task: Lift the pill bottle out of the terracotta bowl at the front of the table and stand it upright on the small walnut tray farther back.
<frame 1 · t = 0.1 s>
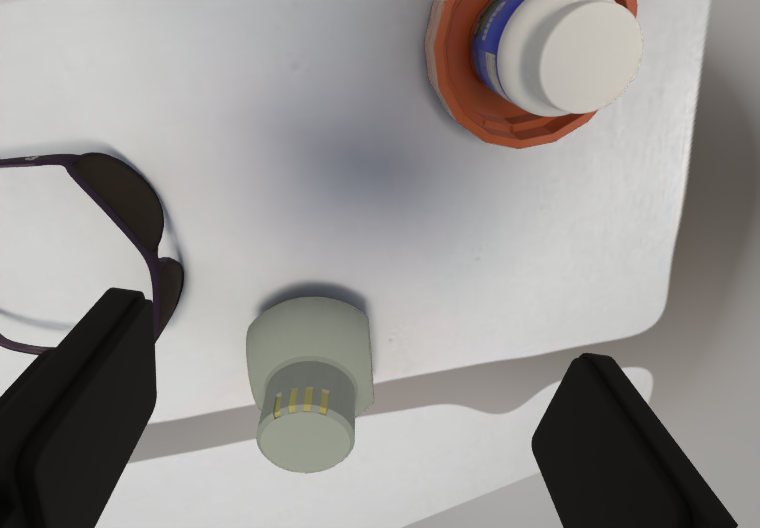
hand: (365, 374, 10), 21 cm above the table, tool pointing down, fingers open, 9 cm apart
sunglasses: (65, 244, 31), on the table
bowl: (510, 42, 26), on the table
air freshener: (317, 336, 36), on the table
pill bottle: (512, 43, 26), resting on bowl
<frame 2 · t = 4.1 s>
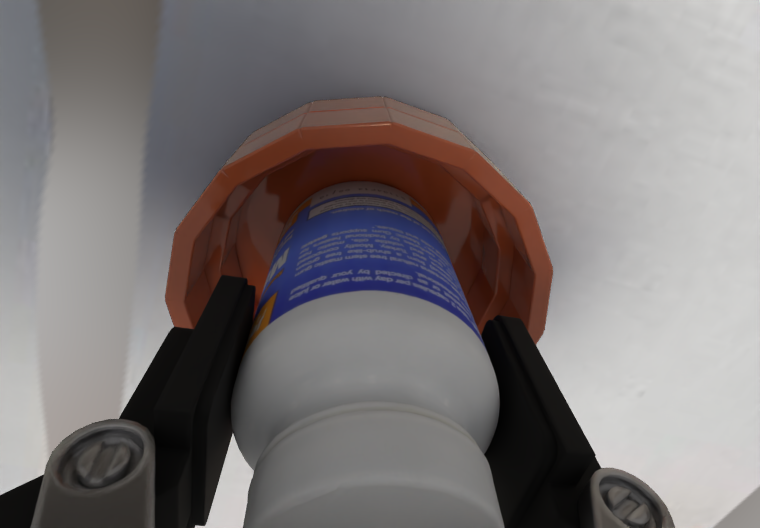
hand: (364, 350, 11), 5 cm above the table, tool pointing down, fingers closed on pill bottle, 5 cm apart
bowl: (361, 248, 16), on the table
pill bottle: (361, 252, 15), resting on bowl, touching gripper
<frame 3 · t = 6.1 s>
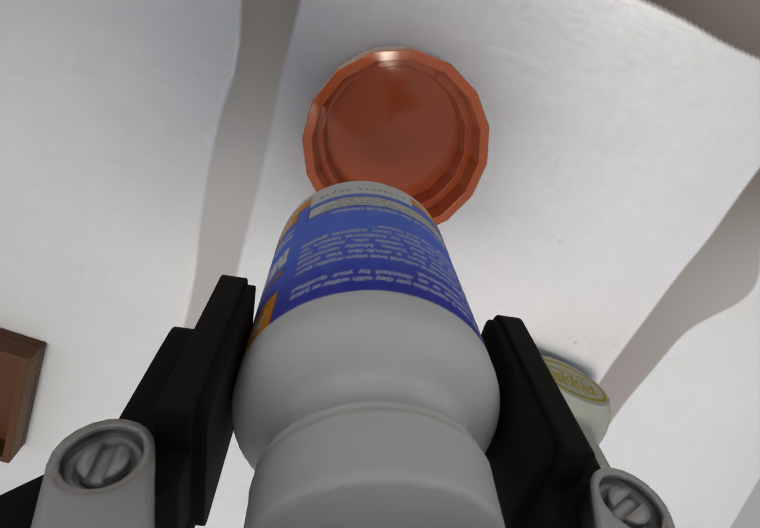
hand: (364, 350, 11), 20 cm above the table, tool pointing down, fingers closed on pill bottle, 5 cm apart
bowl: (391, 135, 28), on the table
air freshener: (525, 386, 39), on the table
pill bottle: (361, 252, 15), point 15 cm above the table, touching gripper
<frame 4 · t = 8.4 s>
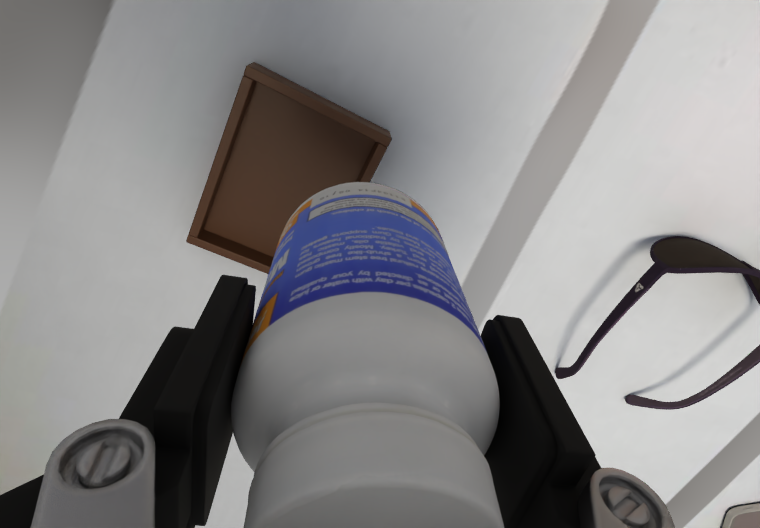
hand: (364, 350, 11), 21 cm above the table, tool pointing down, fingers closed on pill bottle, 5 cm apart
tray: (288, 182, 31), on the table
sunglasses: (649, 321, 38), on the table
pill bottle: (361, 253, 15), point 16 cm above the table, touching gripper
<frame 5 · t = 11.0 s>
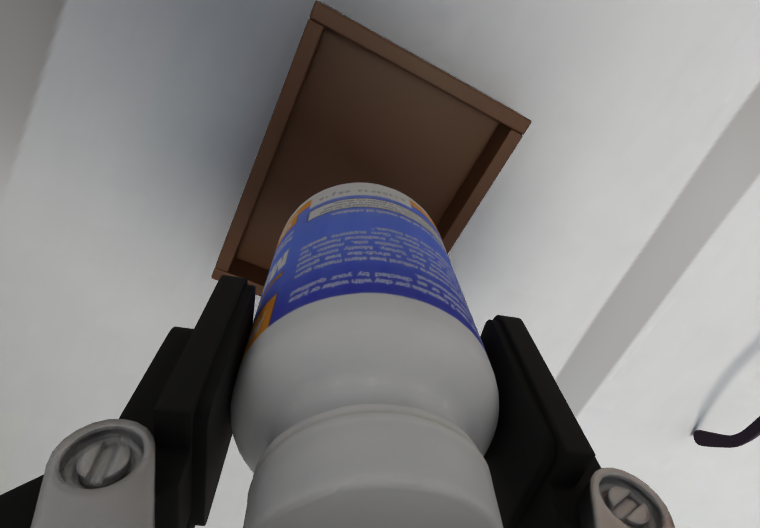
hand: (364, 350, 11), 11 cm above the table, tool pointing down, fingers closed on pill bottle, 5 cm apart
tray: (359, 189, 21), on the table
pill bottle: (361, 253, 15), point 6 cm above the table, touching gripper
when the fingers open (5 cm above the table, at t = 13.0 s): pill bottle stays where it is, resting on tray.
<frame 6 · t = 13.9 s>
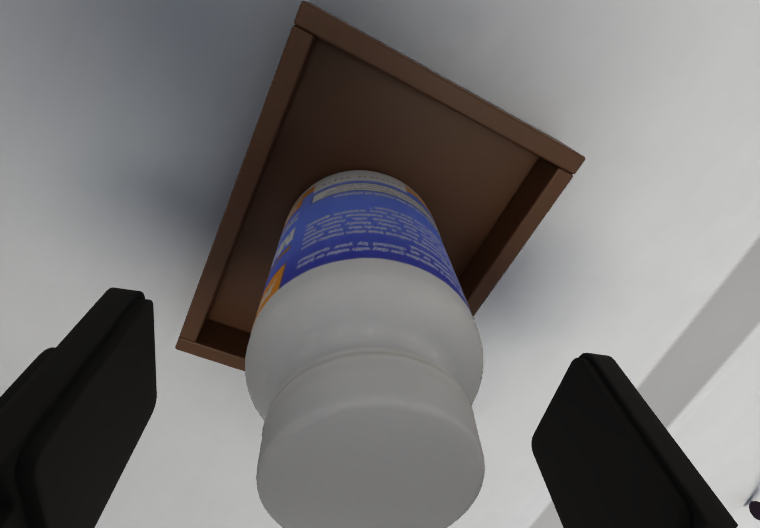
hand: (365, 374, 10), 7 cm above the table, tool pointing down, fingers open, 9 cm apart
tray: (361, 236, 17), on the table
pill bottle: (360, 238, 16), resting on tray
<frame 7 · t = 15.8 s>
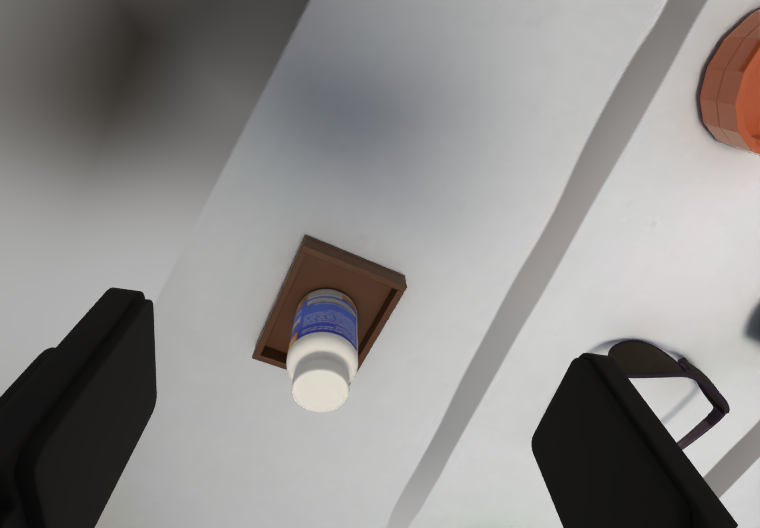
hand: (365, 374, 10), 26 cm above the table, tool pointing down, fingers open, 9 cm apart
tray: (328, 311, 40), on the table
sunglasses: (614, 400, 47), on the table
pill bottle: (327, 312, 40), resting on tray
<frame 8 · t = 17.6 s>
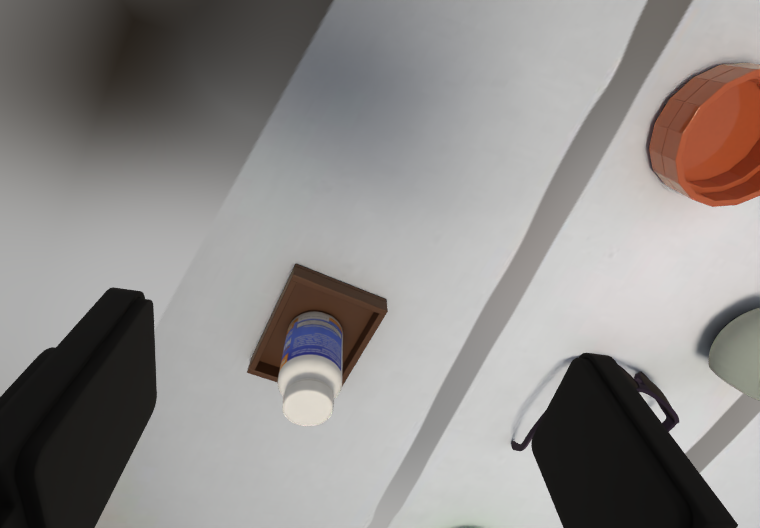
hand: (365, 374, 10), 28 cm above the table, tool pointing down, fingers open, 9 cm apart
tray: (316, 330, 44), on the table
sunglasses: (578, 408, 52), on the table
bowl: (708, 130, 37), on the table
air freshener: (745, 334, 48), on the table
pill bottle: (316, 331, 44), resting on tray
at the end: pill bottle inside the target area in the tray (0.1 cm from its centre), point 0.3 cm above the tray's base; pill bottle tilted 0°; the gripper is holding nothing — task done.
